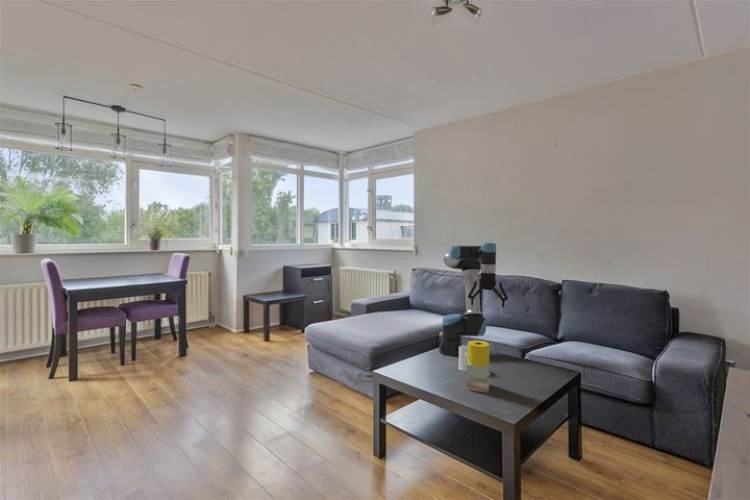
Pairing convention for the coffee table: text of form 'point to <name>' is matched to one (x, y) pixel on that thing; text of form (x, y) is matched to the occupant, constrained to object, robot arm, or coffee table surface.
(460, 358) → the mug
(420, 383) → the coffee table surface
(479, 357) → the yellow hollow cylinder
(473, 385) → the base block
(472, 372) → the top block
